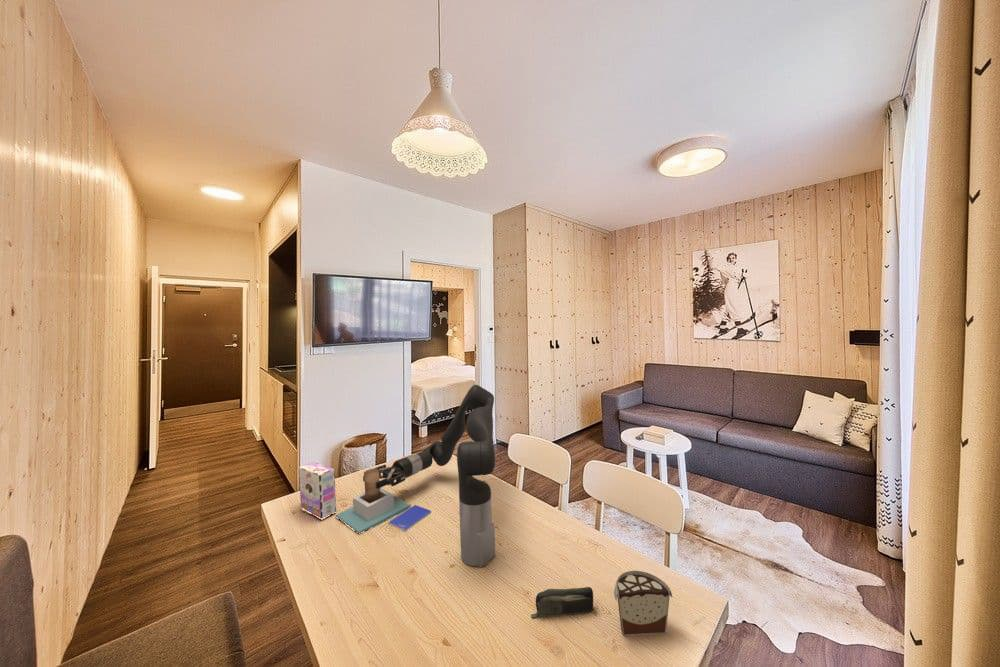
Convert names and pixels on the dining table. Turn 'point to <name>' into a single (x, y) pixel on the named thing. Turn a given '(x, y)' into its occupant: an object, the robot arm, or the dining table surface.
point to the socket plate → (372, 511)
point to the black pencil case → (564, 602)
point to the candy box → (317, 489)
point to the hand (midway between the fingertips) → (369, 482)
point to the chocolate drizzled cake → (642, 603)
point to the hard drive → (409, 518)
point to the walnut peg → (371, 485)
